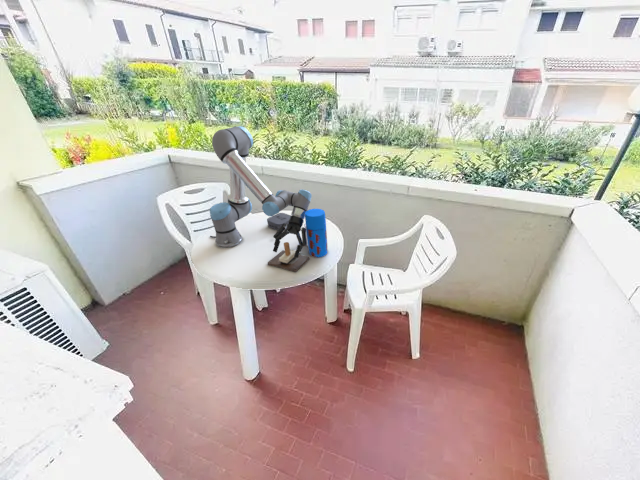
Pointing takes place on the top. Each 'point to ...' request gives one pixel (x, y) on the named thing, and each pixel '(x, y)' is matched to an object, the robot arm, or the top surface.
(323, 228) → the thermos
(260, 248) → the top surface
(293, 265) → the walnut board
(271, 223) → the streaming box
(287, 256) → the scrub brush
